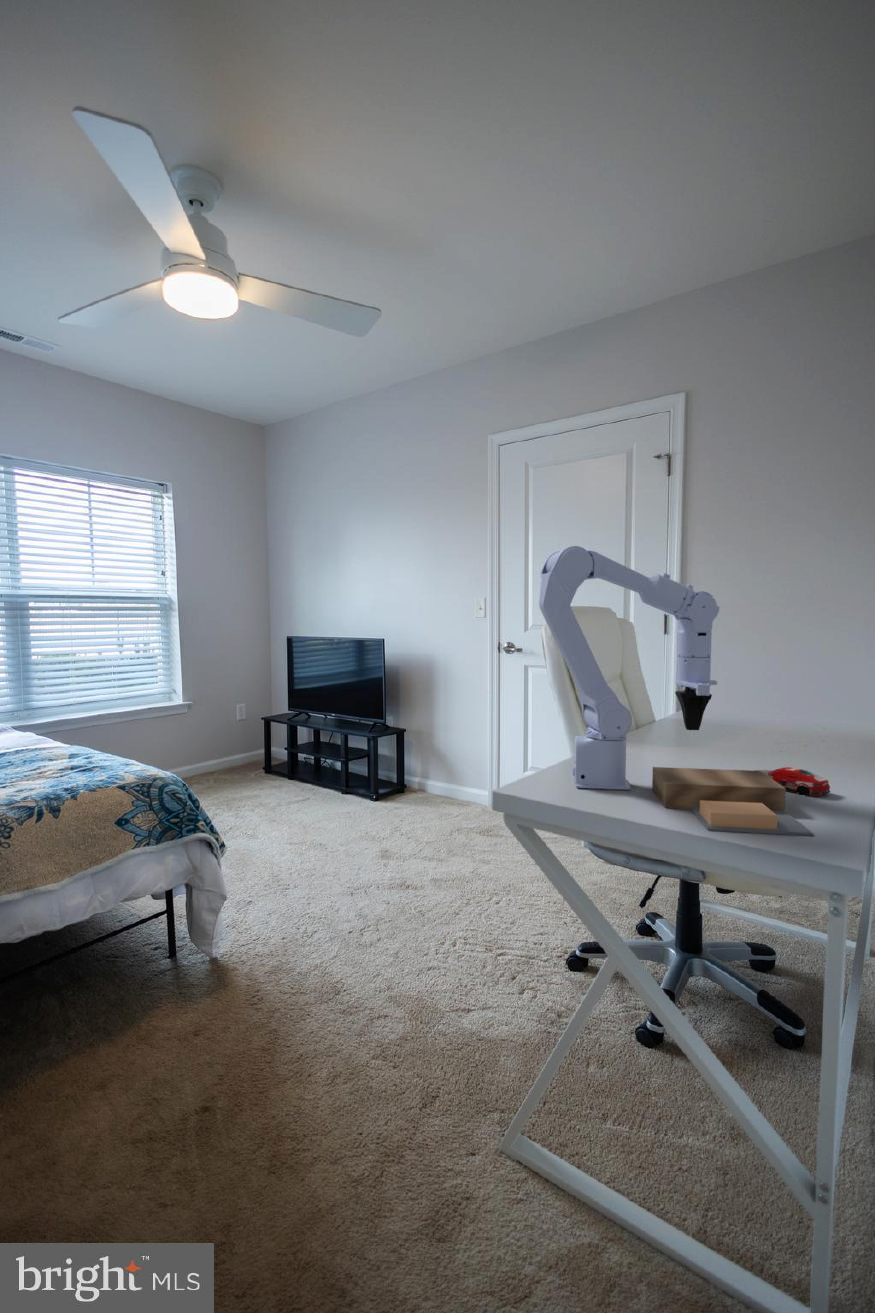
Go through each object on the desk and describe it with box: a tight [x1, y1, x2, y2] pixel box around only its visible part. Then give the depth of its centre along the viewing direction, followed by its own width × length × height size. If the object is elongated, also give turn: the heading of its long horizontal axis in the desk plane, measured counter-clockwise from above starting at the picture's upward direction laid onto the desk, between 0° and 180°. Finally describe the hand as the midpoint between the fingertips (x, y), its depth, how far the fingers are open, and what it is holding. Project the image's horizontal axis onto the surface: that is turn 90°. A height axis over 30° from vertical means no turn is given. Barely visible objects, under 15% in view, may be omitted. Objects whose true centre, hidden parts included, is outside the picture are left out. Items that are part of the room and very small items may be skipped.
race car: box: [753, 766, 831, 797], centre depth 109 cm, size 13×5×4 cm, turn 38°
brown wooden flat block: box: [651, 766, 787, 811], centre depth 102 cm, size 18×11×4 cm, turn 81°
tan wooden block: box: [700, 800, 777, 829], centre depth 91 cm, size 9×6×2 cm, turn 81°
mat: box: [690, 807, 814, 837], centre depth 92 cm, size 14×10×1 cm
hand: (692, 729), depth 113 cm, fingers closed
